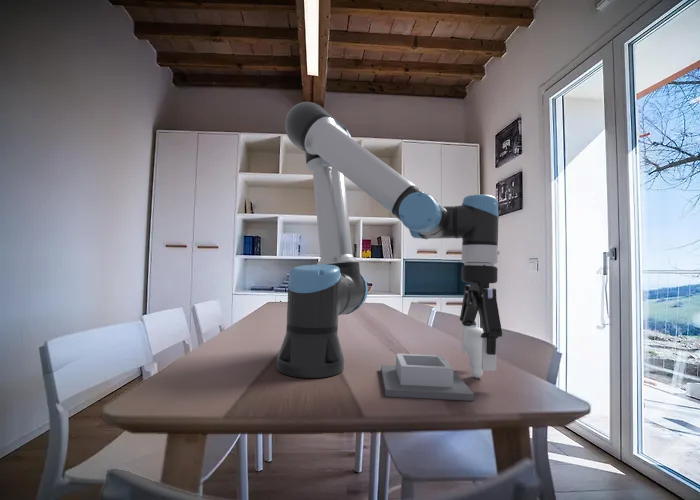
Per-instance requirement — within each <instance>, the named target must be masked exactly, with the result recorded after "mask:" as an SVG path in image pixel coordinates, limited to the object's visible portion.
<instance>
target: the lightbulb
mask: <svg viewBox="0 0 700 500" xmlns="http://www.w3.org/2000/svg"><path fill="white" fill-rule="evenodd" d="M482 333H483V328H482V327H476V326H475V328H471V329H469V330H468V331H467V332H466V333H465V334H464V337H463V336H462V343H463V344H464V347H465V349H466V351H467V353H468V354H467V356H468V359H469V361H468V362H469V366H470V375H471V376H473V378H476V379H479V378H480V377H482V376H483V375H484V370H482V338H481V334H482Z"/></svg>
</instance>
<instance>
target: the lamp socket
mask: <svg viewBox="0 0 700 500" xmlns="http://www.w3.org/2000/svg"><path fill="white" fill-rule="evenodd" d="M380 373H381V378H382V384H383V388H384V393H385V397H391V398H392V397H395V398H413V399H414V398H415V399H432V400H433V399H434V400H451V401H453V400H454V401H470V402H472V401H473V402H474V401H475V393H474V392H473V391H472V390H471V389H470V387H469V386H468V385H467V384H466V383H465V382H464V381H463V379H462V378H461V377H460V376H459V375H458V374H457V373H456V372H455V371H454V368H453V366H451V364H450V363H449V362H448V361H447V360H446V358H444V357H443V355H437V354H436V355H435V354H415V353H413V354H412V353H396V354H395V365H388V364H381V365H380Z"/></svg>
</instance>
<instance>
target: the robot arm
mask: <svg viewBox="0 0 700 500" xmlns="http://www.w3.org/2000/svg"><path fill="white" fill-rule="evenodd" d="M284 129H285V133H286V135H287V137H288V139H289V141H290V142H291V143H292V144H293V145H294V146H295V147H296V148H298V149H300V150H302V151H303V152H304V153H305V164H306V166H305V167H306V169H307V170H309V171H310V172H311V173H312V178H313V179H312V180H313V191H314V200H315V212H316V220H317V221H316V223H317V232H318V245H319V254H320V256H319V257H320V259H319V261H318V262H317V263H316V264H315V263H314V264H303V265H298V266H295V267H293V268H291V269H290V272H289V275H288V277H289V278H288V282H287V307H286V308H287V309H286V331H285V336H284V339H283V341H282V343H281V346H280V350H279V352H278V355H277V358H276V369H277V371H278V372H279V373H281V374H284V375H286V376H290V377H295V378H304V379H305V378H306V379H314V378H315V379H317V378H318V379H319V378H326V377H332V376H333V377H334V376H336V375H338V374H341V373H343V371H344V368H345V358H344V354H343V350H342V347H341V346H342V345H341V343H340V339H339V334H338V332H339V331H338V327H339V316H341V315H349V314H351V313H354V312H355V311H356V310H359V309H360V308H361V307H362V306H363V305H364V303H366V300H367V297H368V293H369V288H368V283H367V280H366V278H365V276H364V275H362V273H361V268H360V260H359V259H357V258H355V256H354V255H353V247H352V237H351V236H352V235H351V229H350V228H351V227H350V216H349V208H348V200H347V199H348V197H347V187H346V178H347V179H348V180H349V181H350V182H352V183H353V184H354V185H356V186H357V187H358V188H359V189H361V190H362V191H363V192H365V194H367V195H368V196H370V197H371V198H372V199H373V200H374V201H376V203H378V204H380V205H381V206H382V207H383V208H385V210H387V211H388V212H390V213H391V214H392V215H393V216H394V217H395V218H397V219H398V220H400V221H401V223H402V224H403V226H405V228H407V229H408V231H409V234H410V235H411V237H412V238H413V239H421V240H423V239H424V240H429V239H462V240H461V242H462V243H461V244H462V245H461V263H463V264H464V265H462V266H461V281H462V282H464V283H469V284H465V285H464V291H463V297H462V298H463V299H462V303H461V309H460V310H461V311H460V315H459V321H460V322H461V323H462V338H463V337H464V334H465V333H466V332H467V331H468V330H469V329H471V328H475V327H476V326H477V323H476V318H477V315H479V319H480V323H481V328H482V329H483V333H482V334H481V338H482V370H483V371H490V372H491V371H493V372H494V371H497V359H498V357H497V356H498V355H497V354H498V353H497V352H498V351H497V350H498V338H499V337H500V338H502V337H503V331H502V324H501V317H500V313H499V312H500V311H499V307H498V301H497V300H498V299H497V289H496V288H494V287H493V288H492V287H490V284H496V283H498V267H497V266H496V264H497V263H498V255H500V252H501V251H500V250H498V240H499V201H498V200H499V199H497V198H496V197H495V196H494V195H491V194H473V195H472V194H471V195H467V196H465V197H464V198H463V199H462V200H463V201H462V203H461V205H455V206H453V205H451V206H448V205H446V206H442V205H441V204H440V203H439V202H438V200H437V199H436V198H435V197H433V196H432V195H431V194H429V193H426V192H425V191H423V190H422V189H420V187H418V186H416V184H414V183H413V182H411V181H410V180H408V179H407V178H406V177H404V176H403V175H402V174H400V173H399V172H398V171H396V170H395V169H394V168H393V167H392V166H390V165H388V164H387V163H386V162H384V161H383V160H381V159H380V158H379V157H377V156H376V155H375V154H373V153H372V152H370V151H369V150H368V149H367V148H365V147H364V146H362V145H361V144H360V143H358V141H356V140H354V139H353V138H352V136H351V133H350V132H349V131H348V129H347V128H346V126H345V125H344V124H343V123H342V122H341V121H339V120H337V119H336V118H335V117H334V116H333V115H331V114H330V113H329V112H328V111H327V110H326V109H325V108H323V107H322V106H321V105H319V104H317V103H316V102H312V101H303V102H302V101H301V102H299V103H297V104H295V105H294V106H292V108H290V110H289V111H288V113H287V115H286V118H285V122H284ZM461 346H462V348H461V349H462V351H461V352H462V354H465V355H468V353H467V351H466V349H465V347H464V344H463V342H462V345H461Z"/></svg>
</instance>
